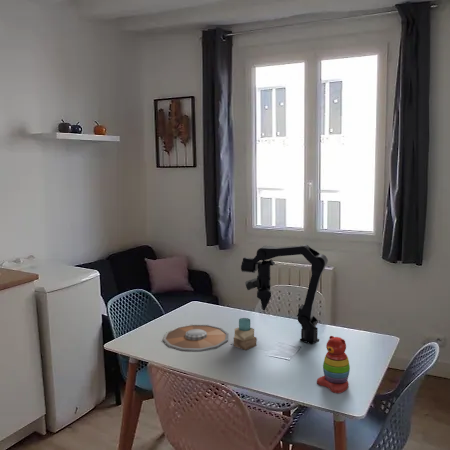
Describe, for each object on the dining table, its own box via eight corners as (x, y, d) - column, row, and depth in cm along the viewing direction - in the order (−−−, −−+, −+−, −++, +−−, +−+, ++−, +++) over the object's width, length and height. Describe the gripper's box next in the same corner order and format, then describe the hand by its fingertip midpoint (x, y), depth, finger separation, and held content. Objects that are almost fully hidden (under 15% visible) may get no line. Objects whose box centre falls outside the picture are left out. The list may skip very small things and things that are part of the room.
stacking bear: (314, 382, 174) (315, 336, 172) (333, 375, 180) (334, 330, 178) (336, 394, 166) (338, 346, 163) (356, 386, 171) (358, 339, 169)
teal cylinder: (252, 328, 207) (252, 319, 206) (245, 331, 203) (245, 322, 203) (244, 325, 210) (244, 317, 210) (236, 328, 207) (236, 320, 206)
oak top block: (254, 337, 207) (254, 329, 206) (244, 341, 203) (244, 332, 202) (244, 334, 211) (244, 325, 211) (234, 337, 207) (234, 328, 207)
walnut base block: (256, 346, 208) (256, 337, 208) (245, 350, 203) (245, 342, 203) (244, 341, 213) (244, 333, 212) (233, 346, 208) (233, 337, 207)
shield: (179, 317, 235) (237, 324, 226) (179, 323, 236) (237, 330, 226) (151, 340, 207) (215, 349, 198) (151, 347, 208) (216, 356, 198)
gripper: (246, 268, 227) (246, 300, 229) (245, 278, 209) (245, 313, 211) (270, 269, 226) (270, 300, 229) (271, 279, 208) (270, 313, 210)
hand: (263, 306), depth 220 cm, fingers open, 9 cm apart
